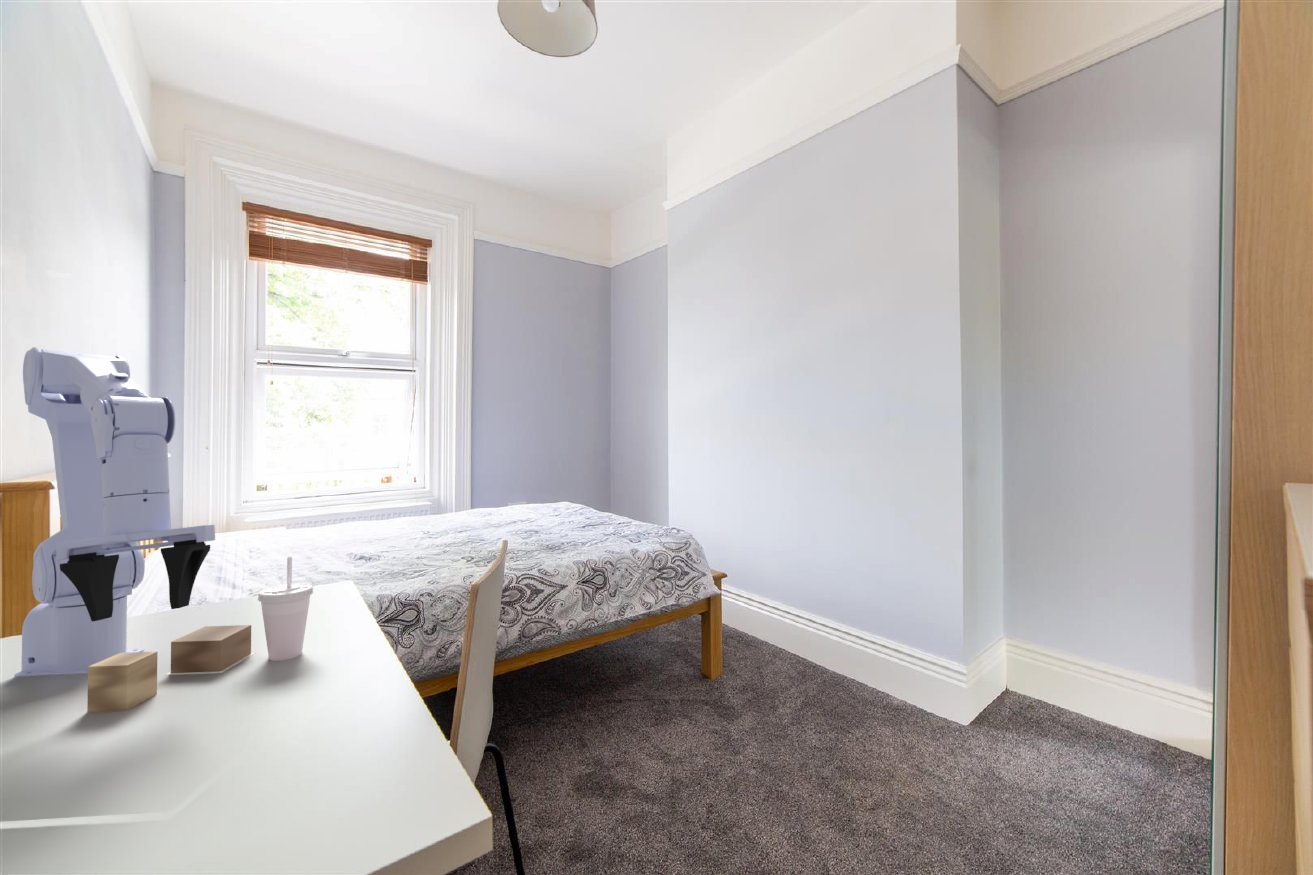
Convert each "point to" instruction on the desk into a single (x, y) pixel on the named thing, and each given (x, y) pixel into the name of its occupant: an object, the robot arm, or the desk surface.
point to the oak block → (122, 681)
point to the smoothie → (285, 617)
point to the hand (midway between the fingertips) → (141, 613)
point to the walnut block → (210, 649)
